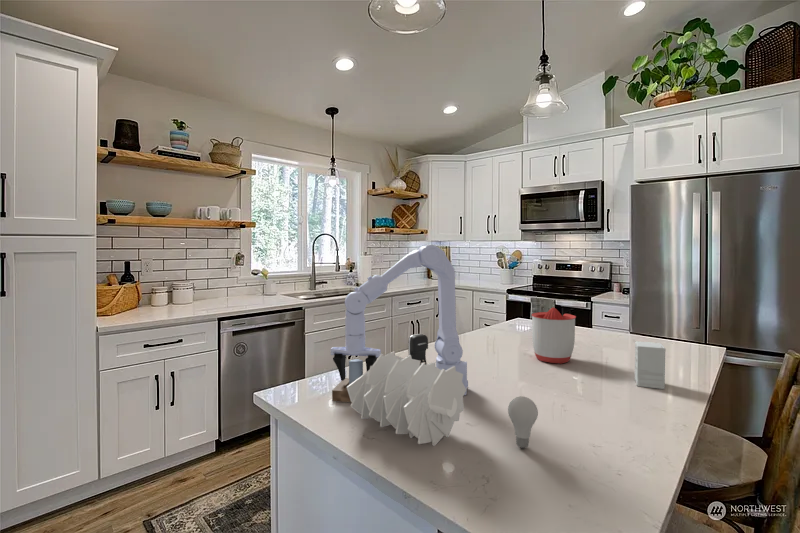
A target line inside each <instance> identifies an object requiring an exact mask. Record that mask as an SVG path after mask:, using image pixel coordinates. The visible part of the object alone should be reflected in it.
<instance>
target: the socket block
mask: <svg viewBox="0 0 800 533" xmlns="http://www.w3.org/2000/svg"><path fill="white" fill-rule="evenodd" d="M348 385H349V377H348V378H346V377H345V379H344V380H343V381H341V380H340V381H339V383H338V384H337V385H336V386H335V387H334V388H333V389H332V390H331V400H332V402H342V403H343V402H345V403H352V402H351V400H350V397H349V393H348V390H347V386H348Z"/></svg>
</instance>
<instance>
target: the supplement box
mask: <svg viewBox="0 0 800 533" xmlns="http://www.w3.org/2000/svg"><path fill="white" fill-rule="evenodd" d="M666 350H667V349H666V348H665V346H664V345H663V344H662V343H661V342H653V341H652V342H651V341H650V342H649V341H637V340H636V341H634V381H635V383H636V386H637V387H641V388H648V389H649V388H650V389H658V390H665V388H666V387H665V382H666V378H665V377H666V376H665V375H666Z"/></svg>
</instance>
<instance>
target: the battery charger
mask: <svg viewBox="0 0 800 533" xmlns="http://www.w3.org/2000/svg"><path fill="white" fill-rule="evenodd" d="M407 343H408V346H407V350H408V356H409V355H411V357H412V359H415V360H419V361H420V365H421V364H422V363H425V365H427V364H428V363H427V359H426V358H427V357H426V356H427V355H426V353H427V352H426V351H427V350H428V349H429V338H428V336H427V335H426V334H424V333H416V334H415V333H414V334H411V335H410V336H409V337H408V342H407Z"/></svg>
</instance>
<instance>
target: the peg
mask: <svg viewBox="0 0 800 533" xmlns="http://www.w3.org/2000/svg"><path fill="white" fill-rule="evenodd" d="M363 374H364V361H363V360H362V359H358V358H357V359H356V358H354V359H351V360H349V361H348V378H349V385H350V384H351V383H352V382H354V381H355V380H356V379H358V378H359V377H360V376H362V375H363Z"/></svg>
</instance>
